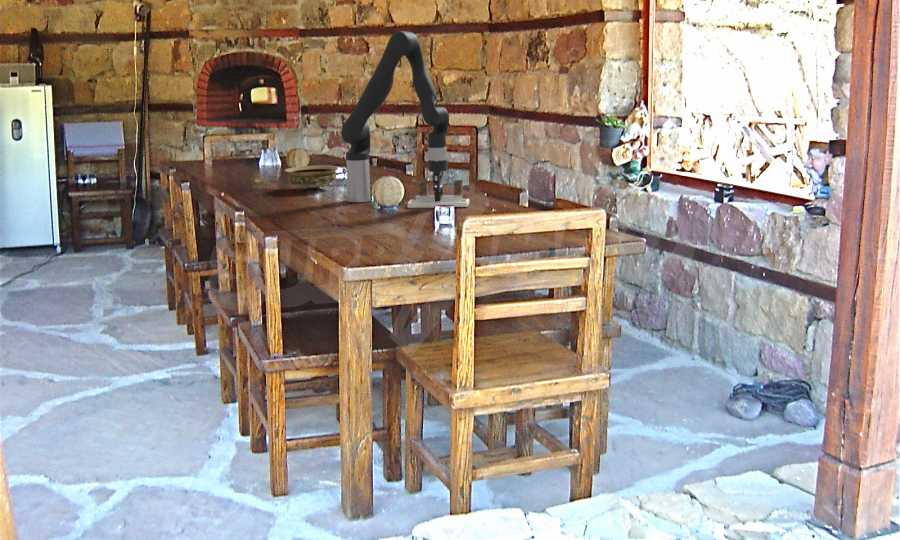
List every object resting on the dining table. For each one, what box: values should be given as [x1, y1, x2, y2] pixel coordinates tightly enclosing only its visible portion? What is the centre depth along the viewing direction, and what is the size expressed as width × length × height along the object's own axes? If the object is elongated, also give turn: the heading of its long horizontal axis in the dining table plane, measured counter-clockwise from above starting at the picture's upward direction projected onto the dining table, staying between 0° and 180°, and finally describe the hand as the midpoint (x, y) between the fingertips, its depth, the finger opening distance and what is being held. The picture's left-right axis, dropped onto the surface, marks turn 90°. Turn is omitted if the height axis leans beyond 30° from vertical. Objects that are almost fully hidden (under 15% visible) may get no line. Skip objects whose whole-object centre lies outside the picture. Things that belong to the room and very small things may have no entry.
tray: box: [407, 198, 471, 209], centre depth 385 cm, size 24×10×2 cm, turn 84°
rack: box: [418, 179, 464, 199], centre depth 394 cm, size 20×6×9 cm, turn 84°
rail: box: [415, 194, 462, 203], centre depth 385 cm, size 18×4×4 cm, turn 84°
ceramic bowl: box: [284, 164, 339, 192], centre depth 439 cm, size 30×24×10 cm
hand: (438, 199), depth 385 cm, fingers open, 8 cm apart
